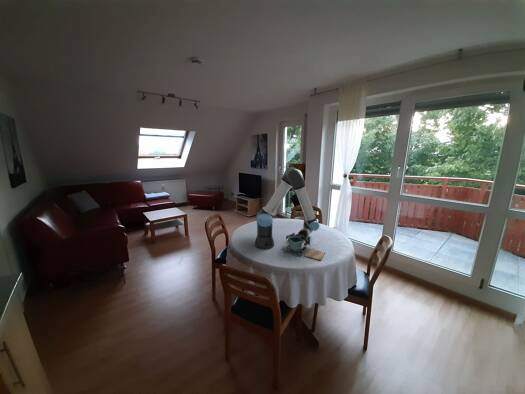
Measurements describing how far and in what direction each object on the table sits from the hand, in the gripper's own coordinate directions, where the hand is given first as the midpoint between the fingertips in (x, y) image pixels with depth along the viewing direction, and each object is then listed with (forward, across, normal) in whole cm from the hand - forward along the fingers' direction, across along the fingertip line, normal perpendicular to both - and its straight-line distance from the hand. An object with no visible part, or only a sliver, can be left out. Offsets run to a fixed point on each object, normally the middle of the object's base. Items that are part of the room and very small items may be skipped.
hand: (293, 244), depth 150 cm
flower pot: (-4, 0, -7) cm, 8 cm away
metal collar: (-4, 0, -6) cm, 8 cm away
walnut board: (-5, -14, -6) cm, 16 cm away
